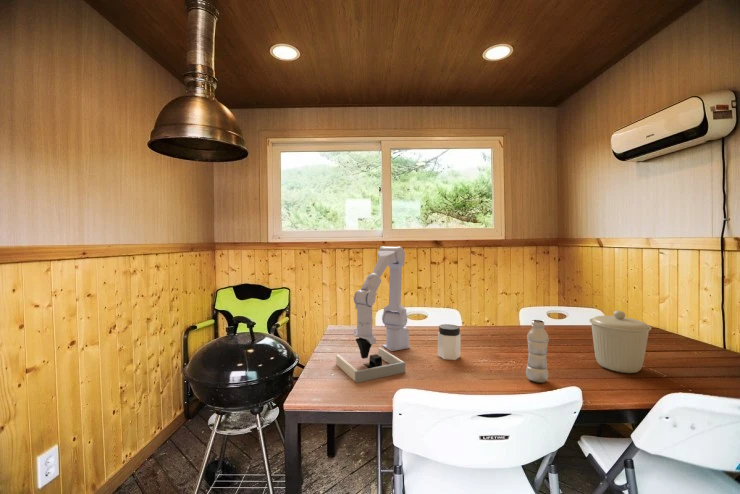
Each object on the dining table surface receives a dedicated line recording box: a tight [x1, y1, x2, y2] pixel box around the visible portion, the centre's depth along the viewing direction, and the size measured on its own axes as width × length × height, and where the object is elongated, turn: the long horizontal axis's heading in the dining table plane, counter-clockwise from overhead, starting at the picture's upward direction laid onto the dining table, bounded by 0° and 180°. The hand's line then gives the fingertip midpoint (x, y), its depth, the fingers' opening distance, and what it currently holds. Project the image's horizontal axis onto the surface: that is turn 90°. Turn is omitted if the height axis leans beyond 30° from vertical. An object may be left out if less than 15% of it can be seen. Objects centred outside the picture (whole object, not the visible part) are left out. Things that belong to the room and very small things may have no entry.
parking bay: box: [335, 347, 406, 384], centre depth 120 cm, size 19×18×4 cm
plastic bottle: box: [525, 319, 550, 383], centre depth 109 cm, size 6×7×20 cm
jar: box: [437, 323, 462, 361], centre depth 132 cm, size 9×8×12 cm
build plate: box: [362, 353, 383, 369], centre depth 121 cm, size 12×7×5 cm, turn 31°
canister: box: [588, 310, 652, 374], centre depth 121 cm, size 18×18×21 cm
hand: (364, 357), depth 124 cm, fingers closed
